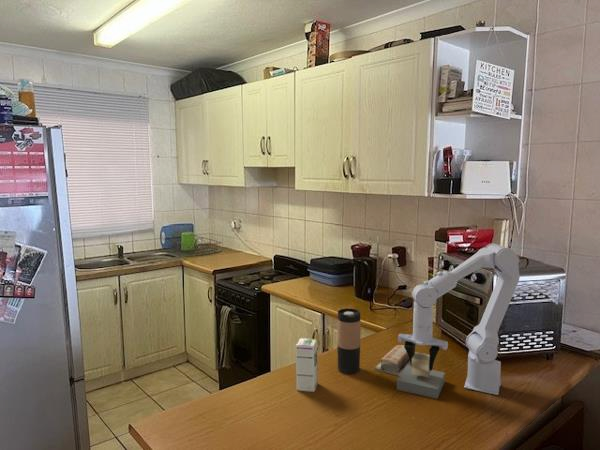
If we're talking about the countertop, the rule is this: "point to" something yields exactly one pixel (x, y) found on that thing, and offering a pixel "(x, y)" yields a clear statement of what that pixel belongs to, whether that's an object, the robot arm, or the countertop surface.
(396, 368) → the packaged product
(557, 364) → the countertop surface
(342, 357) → the travel mug
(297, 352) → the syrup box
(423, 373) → the birch block
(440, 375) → the gray plinth
